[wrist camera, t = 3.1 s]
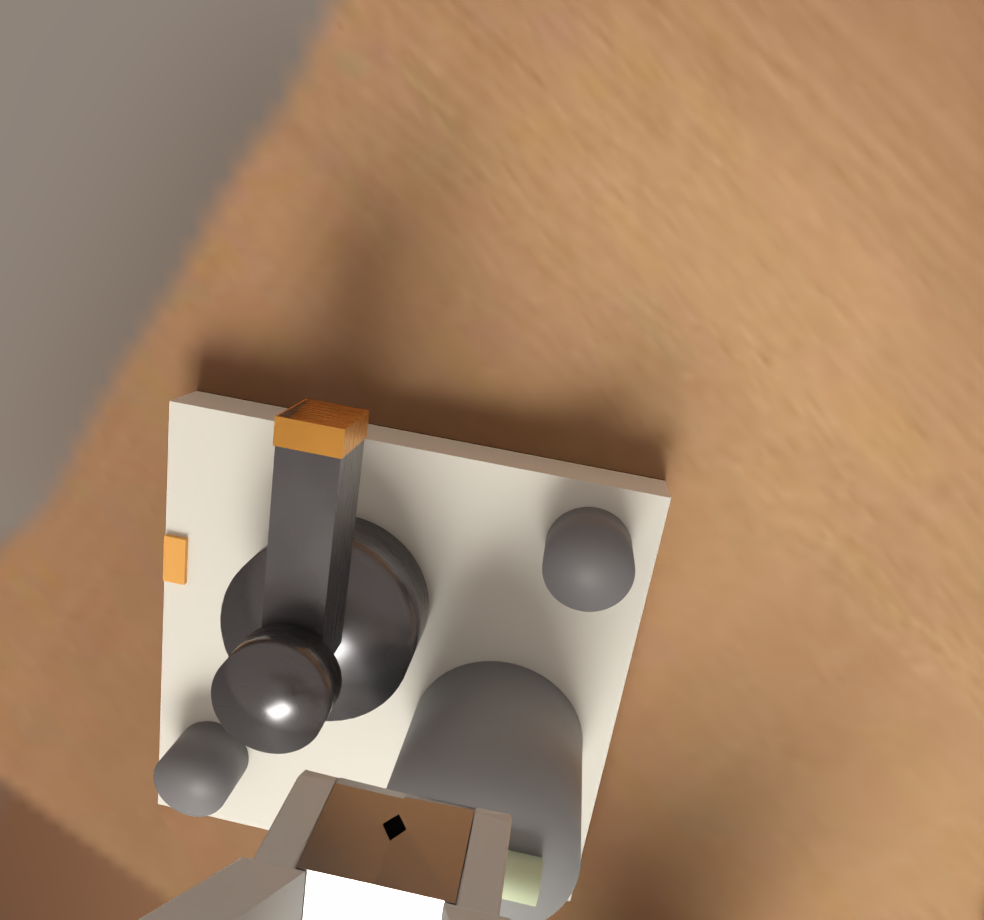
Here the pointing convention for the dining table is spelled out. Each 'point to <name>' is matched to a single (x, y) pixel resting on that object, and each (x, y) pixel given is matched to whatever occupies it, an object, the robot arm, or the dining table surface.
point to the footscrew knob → (316, 595)
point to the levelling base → (446, 638)
